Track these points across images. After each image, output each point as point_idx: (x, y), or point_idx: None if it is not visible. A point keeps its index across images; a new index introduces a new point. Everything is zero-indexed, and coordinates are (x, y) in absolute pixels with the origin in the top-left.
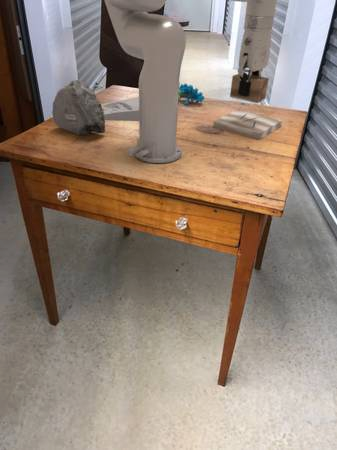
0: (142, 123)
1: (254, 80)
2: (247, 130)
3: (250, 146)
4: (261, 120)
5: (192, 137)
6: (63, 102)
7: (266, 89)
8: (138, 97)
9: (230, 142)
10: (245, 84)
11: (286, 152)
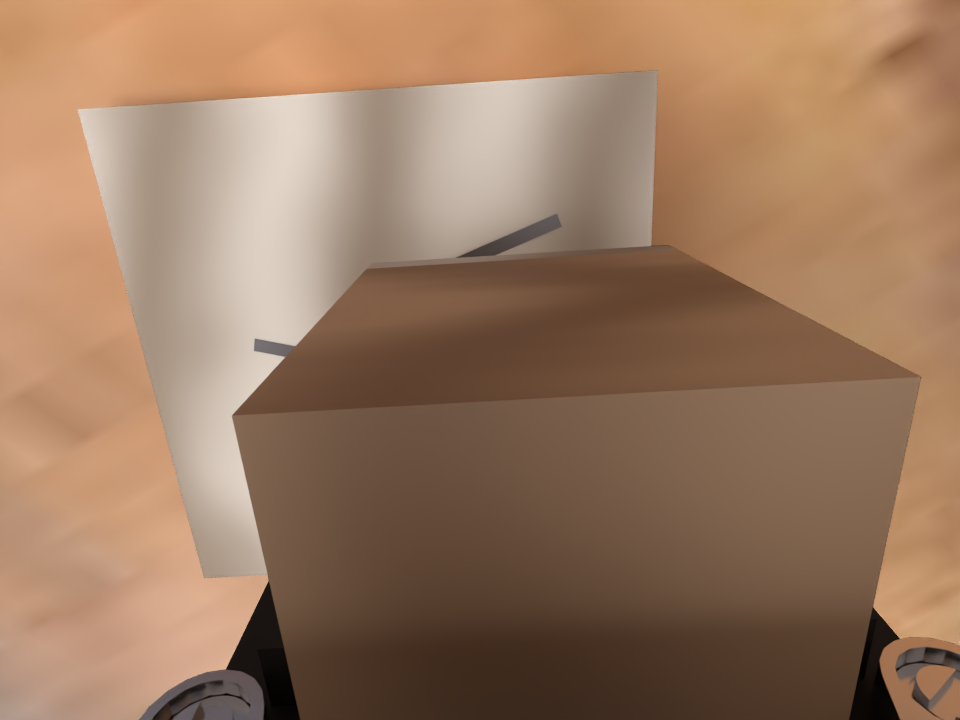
0: None
1: (869, 587)
2: (651, 228)
3: (851, 55)
4: (286, 275)
5: (934, 507)
6: None
7: (343, 306)
8: None
9: (863, 246)
10: (887, 645)
11: None
